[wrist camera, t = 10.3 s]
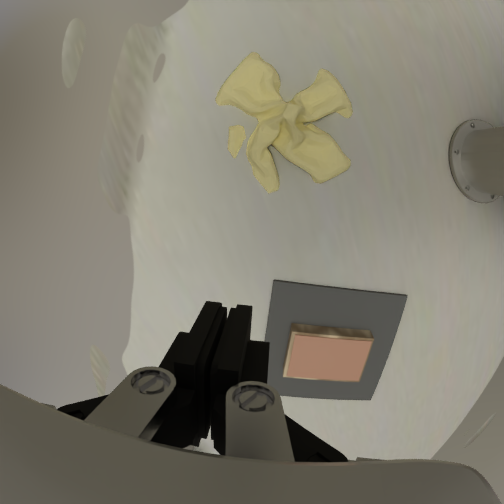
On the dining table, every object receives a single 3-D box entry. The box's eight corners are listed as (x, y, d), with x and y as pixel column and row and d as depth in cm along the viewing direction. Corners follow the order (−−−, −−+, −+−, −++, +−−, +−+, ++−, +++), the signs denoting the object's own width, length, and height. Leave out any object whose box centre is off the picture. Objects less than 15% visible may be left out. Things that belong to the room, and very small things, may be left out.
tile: (291, 322, 43) (369, 330, 43) (282, 367, 45) (356, 372, 45) (292, 332, 41) (374, 339, 40) (282, 377, 43) (359, 382, 42)
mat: (406, 294, 41) (407, 296, 41) (370, 398, 46) (370, 400, 46) (273, 279, 42) (273, 281, 42) (256, 390, 47) (256, 392, 47)
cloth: (216, 54, 35) (207, 37, 29) (353, 61, 34) (364, 45, 28) (211, 212, 41) (200, 219, 35) (349, 219, 40) (361, 227, 34)
